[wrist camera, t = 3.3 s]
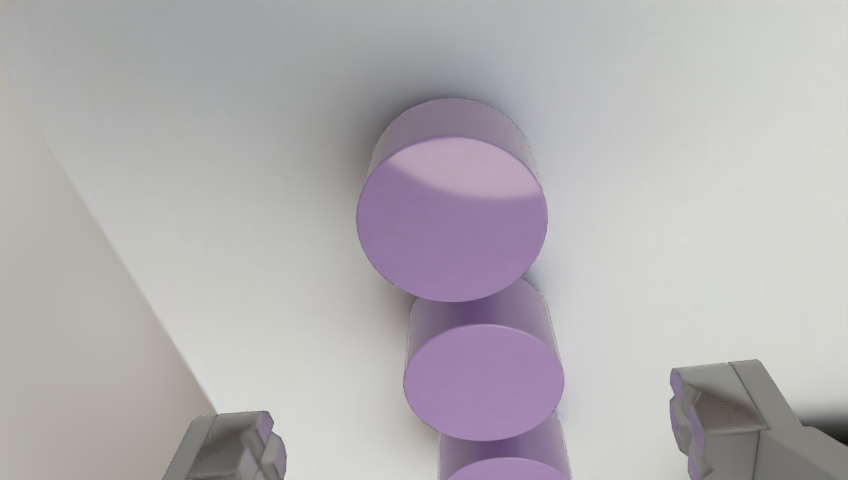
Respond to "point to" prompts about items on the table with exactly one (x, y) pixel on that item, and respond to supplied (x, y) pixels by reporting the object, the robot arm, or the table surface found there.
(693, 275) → the table surface
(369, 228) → the lavender round puck
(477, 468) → the purple short cylinder
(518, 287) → the lilac cylinder puck
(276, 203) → the table surface
